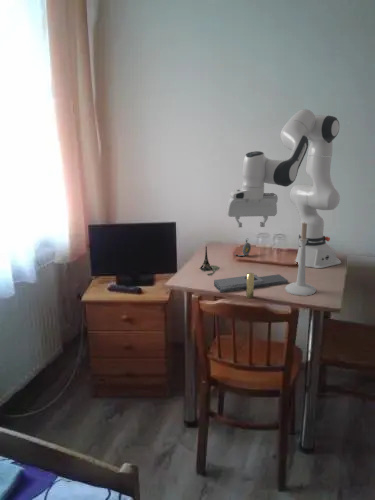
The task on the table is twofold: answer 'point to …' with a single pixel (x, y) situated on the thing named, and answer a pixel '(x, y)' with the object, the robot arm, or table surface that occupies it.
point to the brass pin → (250, 285)
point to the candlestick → (301, 271)
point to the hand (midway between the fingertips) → (251, 226)
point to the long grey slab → (241, 282)
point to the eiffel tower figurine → (208, 265)
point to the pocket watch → (246, 248)
